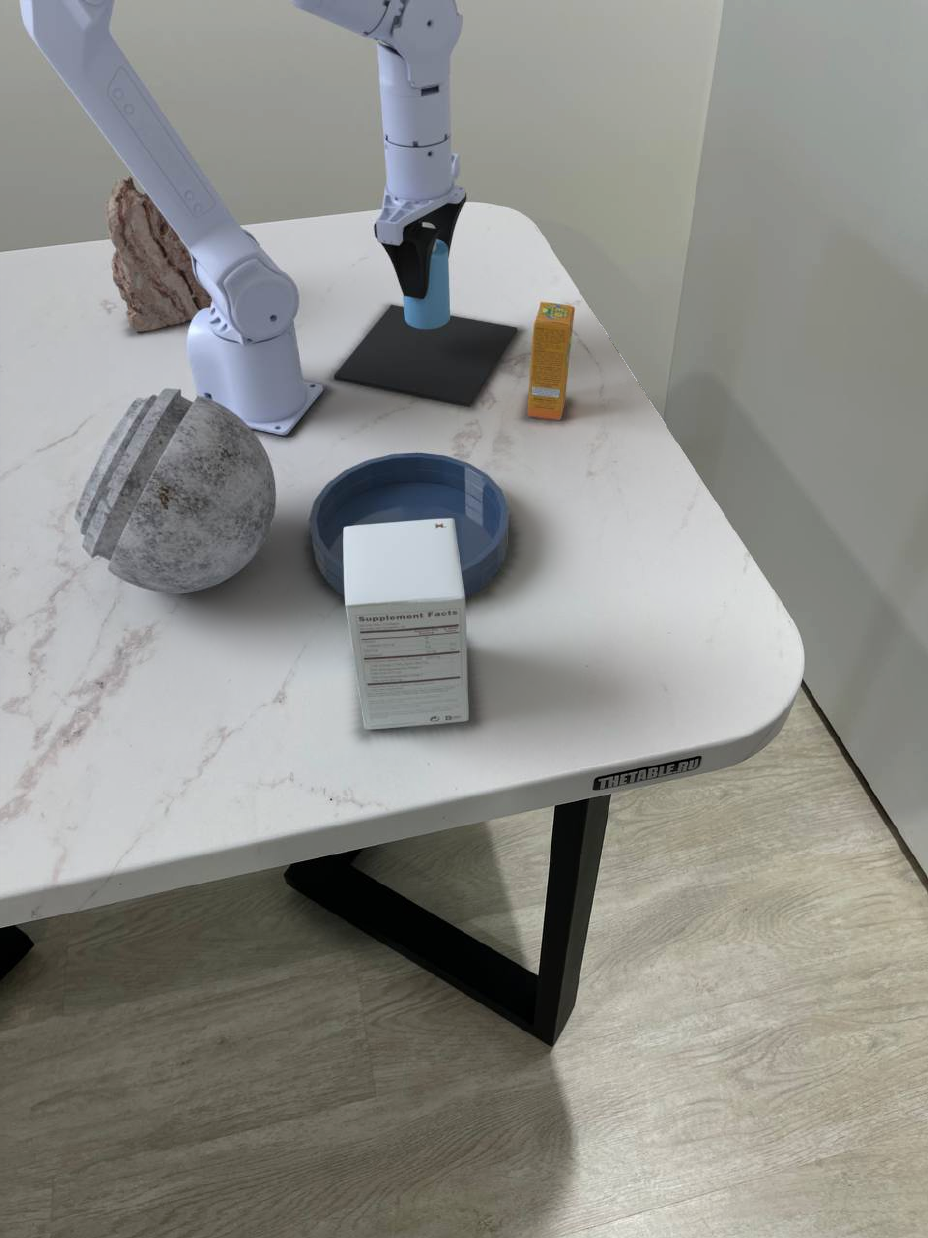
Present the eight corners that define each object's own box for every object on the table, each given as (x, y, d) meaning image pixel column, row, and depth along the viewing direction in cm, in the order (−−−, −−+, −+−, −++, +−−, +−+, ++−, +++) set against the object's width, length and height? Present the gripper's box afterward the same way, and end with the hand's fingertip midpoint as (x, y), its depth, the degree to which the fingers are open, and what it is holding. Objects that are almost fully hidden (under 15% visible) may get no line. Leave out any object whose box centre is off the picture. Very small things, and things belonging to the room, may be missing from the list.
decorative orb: (145, 497, 86) (96, 342, 75) (310, 513, 85) (283, 356, 74) (72, 623, 76) (3, 465, 65) (257, 644, 75) (217, 485, 64)
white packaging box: (360, 652, 74) (341, 522, 65) (461, 644, 74) (457, 513, 65) (361, 733, 69) (342, 605, 60) (470, 725, 69) (467, 595, 60)
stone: (94, 202, 93) (204, 191, 95) (87, 163, 97) (192, 153, 100) (125, 337, 104) (223, 324, 107) (117, 296, 109) (211, 285, 111)
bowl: (280, 583, 79) (274, 555, 77) (363, 464, 89) (360, 436, 87) (467, 633, 75) (466, 605, 73) (533, 502, 85) (534, 474, 83)
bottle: (397, 324, 97) (390, 234, 90) (415, 302, 100) (409, 213, 93) (440, 332, 96) (436, 242, 89) (456, 309, 99) (454, 220, 92)
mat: (334, 379, 98) (333, 375, 98) (391, 307, 107) (391, 304, 107) (469, 406, 95) (469, 403, 94) (517, 330, 103) (517, 327, 103)
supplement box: (563, 421, 93) (570, 323, 85) (526, 417, 93) (529, 320, 86) (568, 400, 95) (575, 303, 88) (532, 397, 95) (535, 300, 88)
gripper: (429, 175, 80) (435, 329, 90) (490, 107, 89) (490, 253, 99) (347, 163, 81) (363, 315, 91) (416, 98, 91) (423, 243, 101)
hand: (424, 283), depth 95 cm, fingers closed on bottle, 4 cm apart
